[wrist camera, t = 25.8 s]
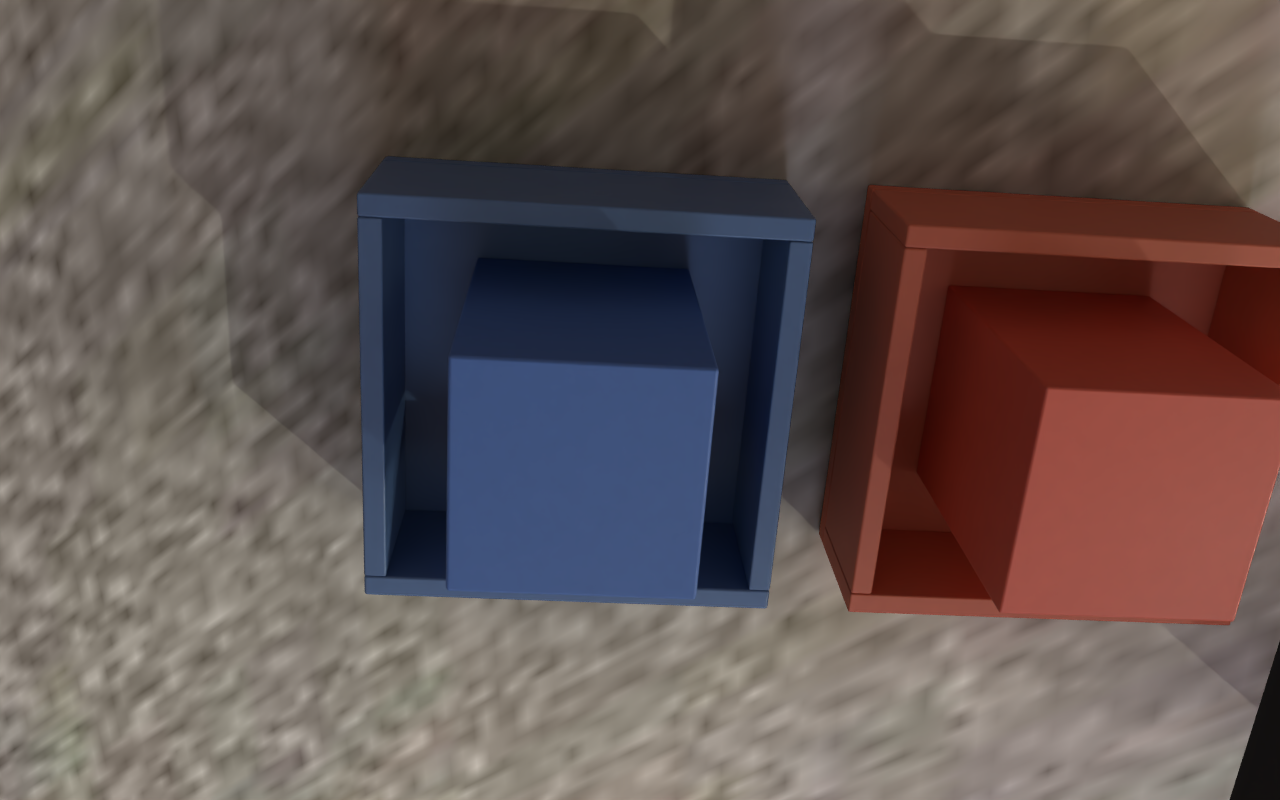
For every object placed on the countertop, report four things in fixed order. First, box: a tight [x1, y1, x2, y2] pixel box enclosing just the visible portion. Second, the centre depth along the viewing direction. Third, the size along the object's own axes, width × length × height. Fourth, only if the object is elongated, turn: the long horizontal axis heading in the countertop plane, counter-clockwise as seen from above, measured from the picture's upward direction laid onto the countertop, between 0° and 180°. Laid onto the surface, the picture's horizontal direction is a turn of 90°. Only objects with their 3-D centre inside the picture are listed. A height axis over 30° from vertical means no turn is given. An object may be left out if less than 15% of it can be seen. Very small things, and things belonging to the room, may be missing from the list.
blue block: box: [446, 258, 719, 600], centre depth 31 cm, size 6×6×8 cm
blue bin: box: [357, 156, 816, 608], centre depth 34 cm, size 11×11×5 cm
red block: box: [917, 285, 1280, 621], centre depth 32 cm, size 6×6×8 cm
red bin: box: [819, 185, 1280, 625], centre depth 34 cm, size 11×11×5 cm
